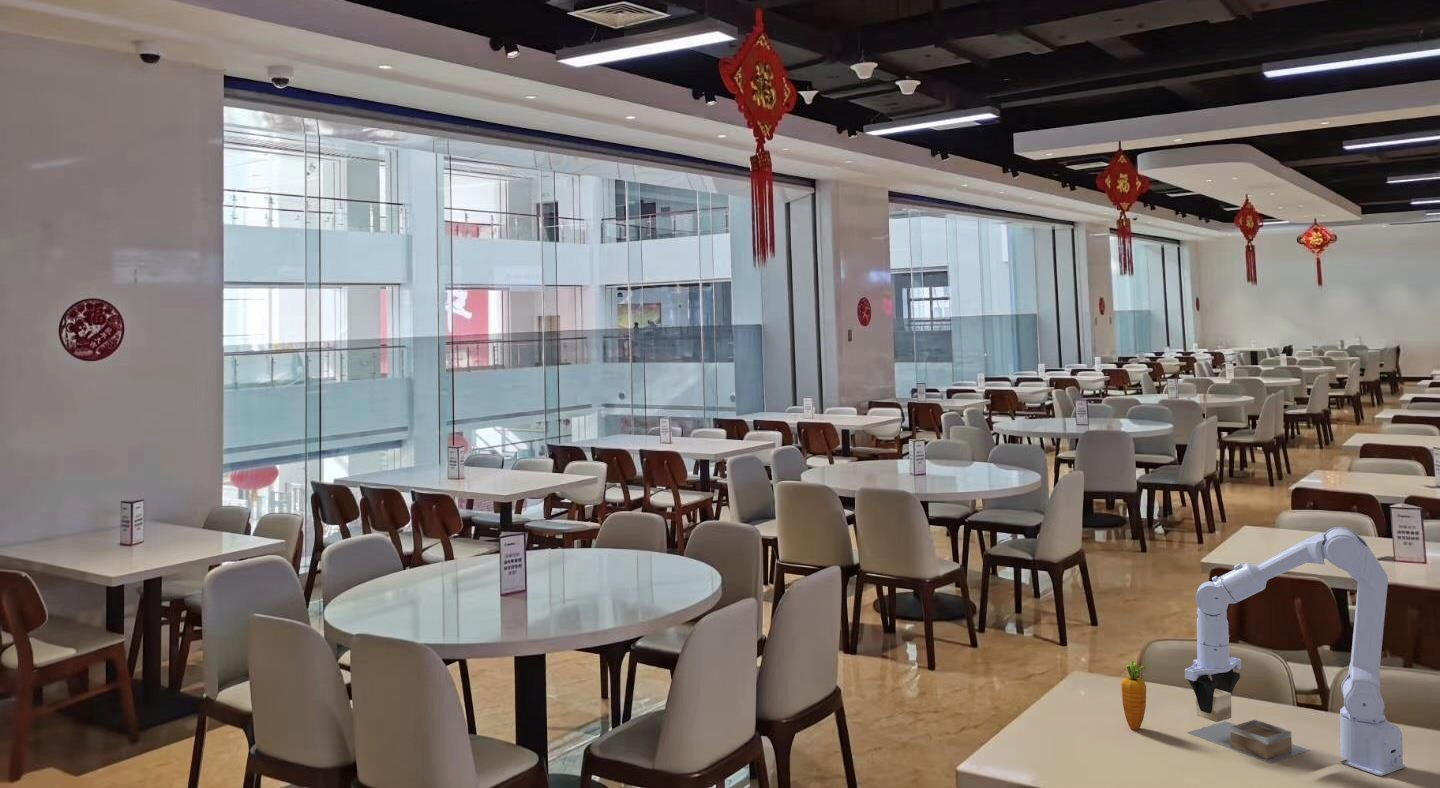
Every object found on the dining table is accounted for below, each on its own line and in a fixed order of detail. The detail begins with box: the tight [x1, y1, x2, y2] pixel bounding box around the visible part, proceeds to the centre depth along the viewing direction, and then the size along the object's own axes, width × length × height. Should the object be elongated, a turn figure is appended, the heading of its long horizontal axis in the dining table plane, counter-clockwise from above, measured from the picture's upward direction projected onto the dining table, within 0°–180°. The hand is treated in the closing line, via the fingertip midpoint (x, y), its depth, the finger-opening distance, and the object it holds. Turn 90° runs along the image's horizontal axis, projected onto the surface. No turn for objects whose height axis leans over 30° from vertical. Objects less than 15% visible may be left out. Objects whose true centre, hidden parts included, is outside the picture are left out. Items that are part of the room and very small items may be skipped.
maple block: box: [1195, 689, 1232, 723], centre depth 200 cm, size 4×4×5 cm
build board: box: [1186, 720, 1311, 764], centre depth 197 cm, size 18×12×1 cm, turn 27°
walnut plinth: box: [1230, 719, 1293, 760], centre depth 192 cm, size 8×8×4 cm
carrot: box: [1120, 661, 1147, 731], centre depth 205 cm, size 5×5×15 cm
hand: (1214, 709), depth 200 cm, fingers closed on maple block, 4 cm apart
